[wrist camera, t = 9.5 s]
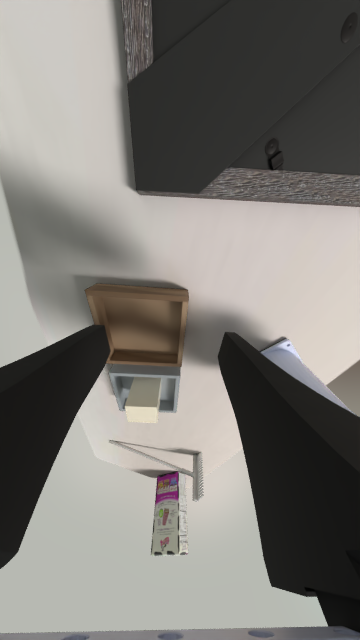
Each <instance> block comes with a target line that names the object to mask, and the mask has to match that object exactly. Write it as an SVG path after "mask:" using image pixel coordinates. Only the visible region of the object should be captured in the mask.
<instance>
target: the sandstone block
mask: <svg viewBox="0 0 360 640" xmlns="http://www.w3.org/2000/svg"><path fill="white" fill-rule="evenodd" d="M160 397H161V378H154V377H134V380H133V383H132V386H131V389H130V392H129V395H128V398H127V401H126V404H125V410H126V414H127V418H128V422H148V423H157V421H158V413H159V405H160Z"/></svg>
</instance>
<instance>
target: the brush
mask: <svg viewBox="0 0 360 640" xmlns="http://www.w3.org/2000/svg"><path fill="white" fill-rule="evenodd" d="M109 442H110V443H112V444H115V445H117V446H120V447H122V448H124V449H127V450H129V451H132V452H134V453H137V454H139V455H142V456H144V457H146V458H149V459H151V460H154V461H156V462H159V463H161V464H164V465H166V466H168V467H171V468H173V469H176V470H178V471H181V472H182V473H184V474H187V475H189V476H191V477H193V501H195V502H197V501H198V500H199V499H200V498H202V497H203V494H202V493H203V491H202V490H203V488H202V487H203V485H202V484H203V482H202V481H203V480H201V479H203V477H202V476H203V474H202V473H203V472H201V471H202V470H203V469H202V468H203V467H201V466H202V463H203V462H202V461H203V460H201V459H202V452H200V453H199V454H198V455H195V454H194V455H193V472H190V471H188V470H185V469H183V468H182V469H181V468H179V467H176V466H174V465H172V464H169V463H167V462H164V461H162V460H159V459H157V458H155V457H152V456H150V455H147V454H145V453H142V452H140V451H137V450H135V449H133V448H130V447H128V446H125V445H123V444H120V443H118V442H116V441H112V440H110V441H109ZM200 460H201V461H200ZM199 461H200V462H199ZM200 467H201V468H200ZM199 468H200V469H199ZM198 469H199V470H198ZM200 472H201V473H200ZM199 473H200V474H199ZM201 474H202V475H201ZM200 480H201V481H200ZM199 481H200V482H199ZM201 482H202V483H201ZM200 483H201V484H200ZM201 485H202V486H201ZM200 486H201V487H200ZM201 488H202V489H201ZM200 489H201V490H200ZM201 491H202V492H201ZM200 492H201V493H200ZM201 494H202V495H201ZM200 495H201V496H200ZM199 496H200V497H199Z"/></svg>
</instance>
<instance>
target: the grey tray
mask: <svg viewBox="0 0 360 640" xmlns="http://www.w3.org/2000/svg"><path fill="white" fill-rule="evenodd" d="M109 376H110V379H111V383H112V386H113V389H114V393H115V396H116V400H117V403H118V407H119V410H120V411H126V410H125V404H126V401H127V398H128V395H129V392H130V389H131V386H132V383H133V380H134V377H154V378H161V397H160V405H159V412H171V413H176V411H177V402H178V393H179V384H180V367H172V366H151V365H130V364H113V366H112V368H111V370H110V371H109Z"/></svg>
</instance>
